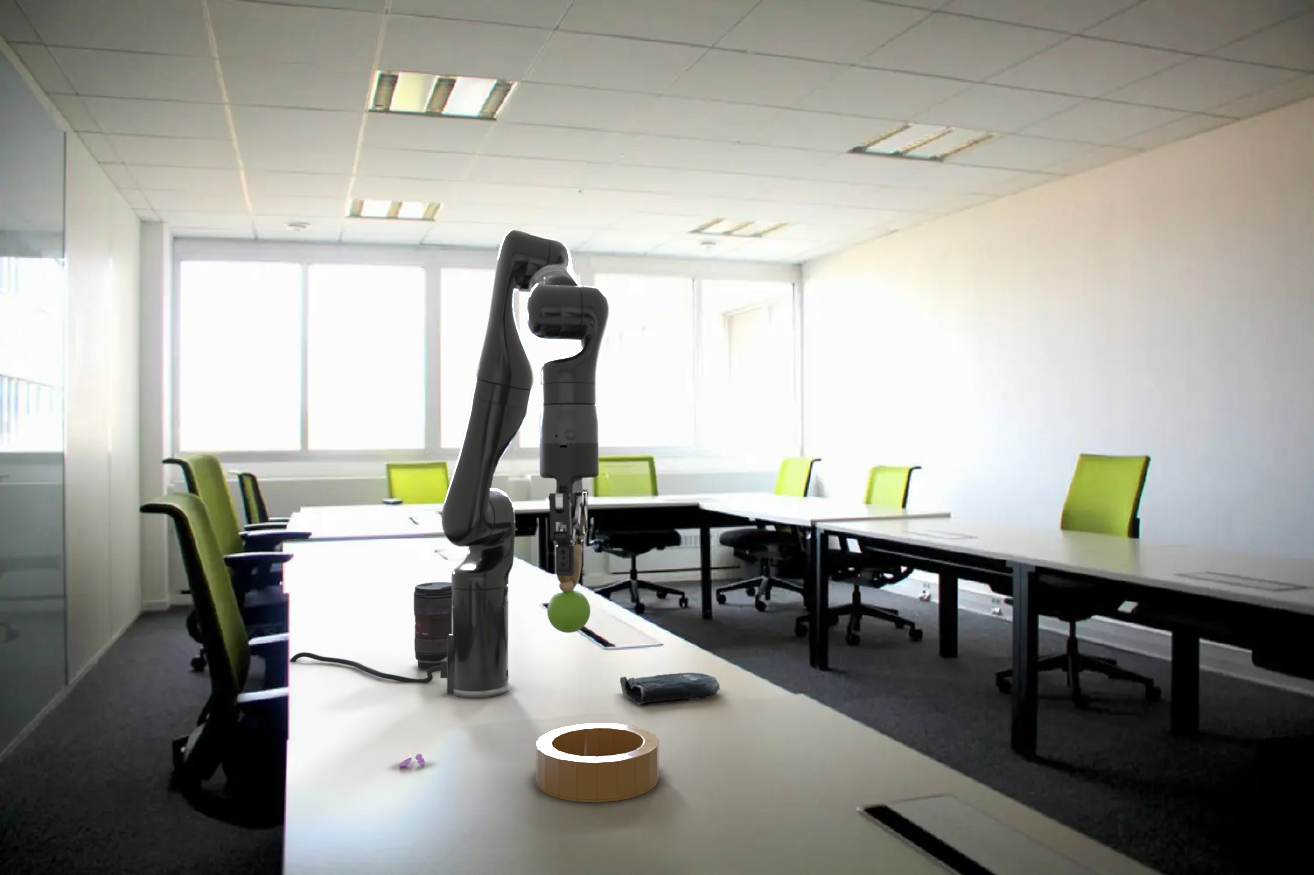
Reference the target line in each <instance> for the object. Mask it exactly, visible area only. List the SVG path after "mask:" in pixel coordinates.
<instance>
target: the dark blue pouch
mask: <svg viewBox="0 0 1314 875" xmlns="http://www.w3.org/2000/svg"><path fill="white" fill-rule="evenodd" d="M619 684H620V688H621V693H622V696H624V697H626V698H628V699H629V700H631V701H632V702H634V704H636V705H638V706H642V704H645V703H653V702H665V701H669V700H670V701H672V700H695V699H706V698H710V697H712V696H714V695H716V694H717V693H718V691H721V688H720V683H719V682H718V680H717V679H716V676H712V675H709V674H705V673H699V672H678V673H668V674H667V673H666V674H657V675H654V676H653V675H652V676H641V677H636V678H634V677H629V678H628V679H627V677H626V676H621V677H620V678H619Z"/></svg>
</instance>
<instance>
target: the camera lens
mask: <svg viewBox="0 0 1314 875" xmlns="http://www.w3.org/2000/svg"><path fill="white" fill-rule="evenodd" d="M451 604H452V582H451V581H450V582H449V581H435V582H432V581H431V582H425V583H420V584H416V585H415V586H414V591H413V615H414V658H415V660H416V661H417V668H418V669H420V670H423V671H428V670H429V669H430V668H431V667H434V666H439V665H440V661H441V660H443V659H444V658H446V657H447V637H448V635H449V634H451V618H452V605H451Z"/></svg>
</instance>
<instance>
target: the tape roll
mask: <svg viewBox="0 0 1314 875" xmlns="http://www.w3.org/2000/svg"><path fill="white" fill-rule="evenodd" d="M659 777H660V739H658V737H657V735H656V734H655V733H652V731H651V732H650V731H649V730H647V729H645V728H640V727H637V726H634V725H628V724H619V723H582V724H576V725H575V724H574V725H571V726H570V725H569V726H564V727H560V728H557V729H554V730H551V731H548V732H547V733H545V734H543V735H540V737H539V738H538V740H537V741H536V742H535V780H536V785H537V787H538V789H539V790H540V791H541V792H542V793H545V794H546V795H548V796H551V797H554V798H557V799H561V800H565V801H571V802H577V803H607V802H608V803H609V802H616V801H624V800H628V799H632V798H636V797H639V796H641V795H644V794H647V793H648V792H650V791H651V790H652V789H654V788H655V787H656V786H657V785H658V782H659Z"/></svg>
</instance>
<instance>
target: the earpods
mask: <svg viewBox="0 0 1314 875" xmlns="http://www.w3.org/2000/svg"><path fill="white" fill-rule="evenodd" d="M412 759H413V757H407V758H406V759H404V760H403V761H401V762H400V763H399V765H398V767H407V768H410V766H409V764H410V763H411V761H412ZM414 759H415V760H416V761H417V764H419V766H420V767H425V764H426V760H425V758H424V757H423V754H422V753H417V754H416V755H415V758H414Z"/></svg>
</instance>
